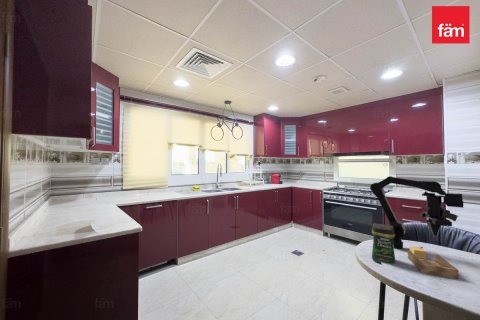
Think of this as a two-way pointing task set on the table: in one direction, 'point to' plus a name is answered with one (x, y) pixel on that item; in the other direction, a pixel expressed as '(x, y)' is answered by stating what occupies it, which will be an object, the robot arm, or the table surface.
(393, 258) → the coffee jar
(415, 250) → the ochre cube
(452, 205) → the robot arm
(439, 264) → the walnut cubby
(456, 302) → the table surface
